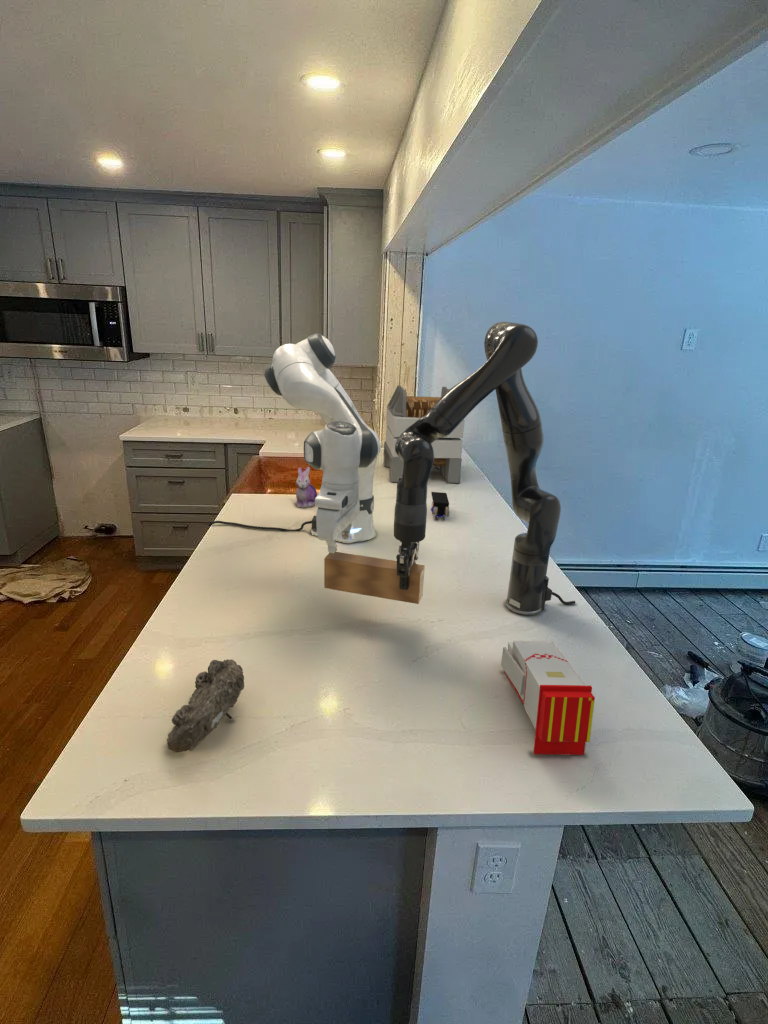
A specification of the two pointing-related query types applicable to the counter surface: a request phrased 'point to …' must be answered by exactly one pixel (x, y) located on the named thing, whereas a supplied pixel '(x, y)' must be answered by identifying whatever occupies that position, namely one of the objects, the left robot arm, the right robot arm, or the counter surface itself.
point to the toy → (550, 696)
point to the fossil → (206, 705)
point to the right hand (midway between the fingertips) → (406, 583)
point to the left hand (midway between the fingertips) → (339, 544)
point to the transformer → (403, 416)
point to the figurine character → (440, 505)
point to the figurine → (305, 489)
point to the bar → (371, 577)
